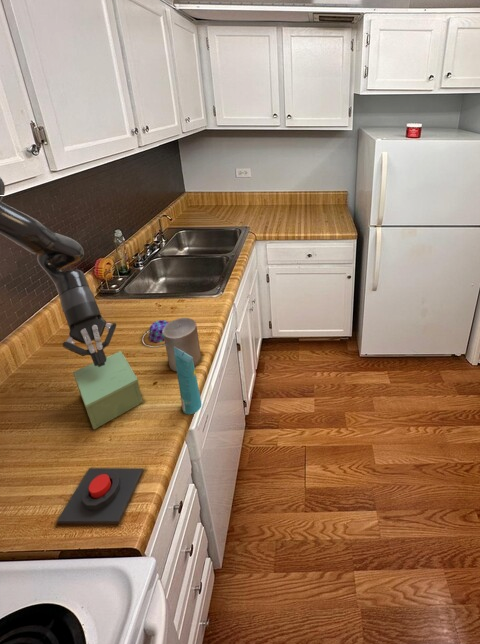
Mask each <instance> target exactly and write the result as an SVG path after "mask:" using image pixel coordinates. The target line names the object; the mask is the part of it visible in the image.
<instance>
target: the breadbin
mask: <svg viewBox="0 0 480 644" xmlns="http://www.w3.org/2000/svg"><path fill="white" fill-rule="evenodd" d="M73 377H74V380H75V381H76V379H75V376H74V375H73ZM77 388H78V391H79V395H80V397H81V399H82V402H83V405H84V408H85V411H86V413H87V416H88V419H89V421H90V424H91V428H92V429H93V431H94V430H96V429H98V428H99V427H101V426H103V425H105V424H106V423H108V422H111V421H112V420H114V419H116V418H118V417H119V416H121V415H123V414H125V413H127V412H128V411H130V410H131V409H133V408H135V407H137V406H139V405H141V404H143V403H144V402H143V397H142V392H141V389H140V385H139V381H138V382H136V383H134V384H132V385H130V386H128V387H126V388H124V389H122V390H120V391H118V392H116V393H114V394H112V395H111V396H109V397H107V398H105V399H103V400H101V401H99V402H97V403H95V404H93V405H91V406H89V407H87V408H86V406H85V403H84V401H83V398H82V395H81V393H80V390H79V387H78V386H77Z"/></svg>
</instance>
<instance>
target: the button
mask: <svg viewBox="0 0 480 644" xmlns="http://www.w3.org/2000/svg"><path fill="white" fill-rule="evenodd" d="M110 487H111V481H110V478H109V476H108V475H106V474H102V475H99V476H97V477H96V478H95V479H93V481H92V482H91V483H90V485H89V491H90V494H91V496H92V497H93V498H100V497H102V496H103V495H105V494H106V493H107V492H108V490H109V489H110Z"/></svg>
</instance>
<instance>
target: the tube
mask: <svg viewBox="0 0 480 644" xmlns="http://www.w3.org/2000/svg"><path fill="white" fill-rule="evenodd" d="M174 354H175V362H176V369H177V371H176V375H177V381H178V382H177V383H178V387H179V396H180V402H181V408H182V412H183V414H185V415H194V414H196V413H197V412H198V411H199V410H200V409H201V408H202V398H201V394H200V389H199V384H198V378H197V373H196V367H194V363H193V357H191V356H190V355H188V354H186V353H185V352H183V351H181V350H180V349H177V348H176V347H174Z"/></svg>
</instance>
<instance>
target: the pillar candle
mask: <svg viewBox="0 0 480 644" xmlns="http://www.w3.org/2000/svg"><path fill="white" fill-rule="evenodd" d="M162 333H163V336H164V341H163V342H164V346H165V351H166V355H167V361H168V365H169V368H170V370H172V371H174V372H177V369H176V362H175V354H174V347H176V348H177V349H180V350H181V351H183V352H185V353H186V354H188V355H190V356H191V357H193V363H194V368H196V367H197V366H199V364H200V363H201V361H202V352H201V346H200V345H201V344H200V340H199V338H200V337H199V332H198V327H197V323H196V321H195V320H194V319H192V318H189V317H181V318H180V317H179V318H176V319H174V320H171V321H169V322H168V324H167V325H166V326H165V327H164V329H163V331H162Z"/></svg>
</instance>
